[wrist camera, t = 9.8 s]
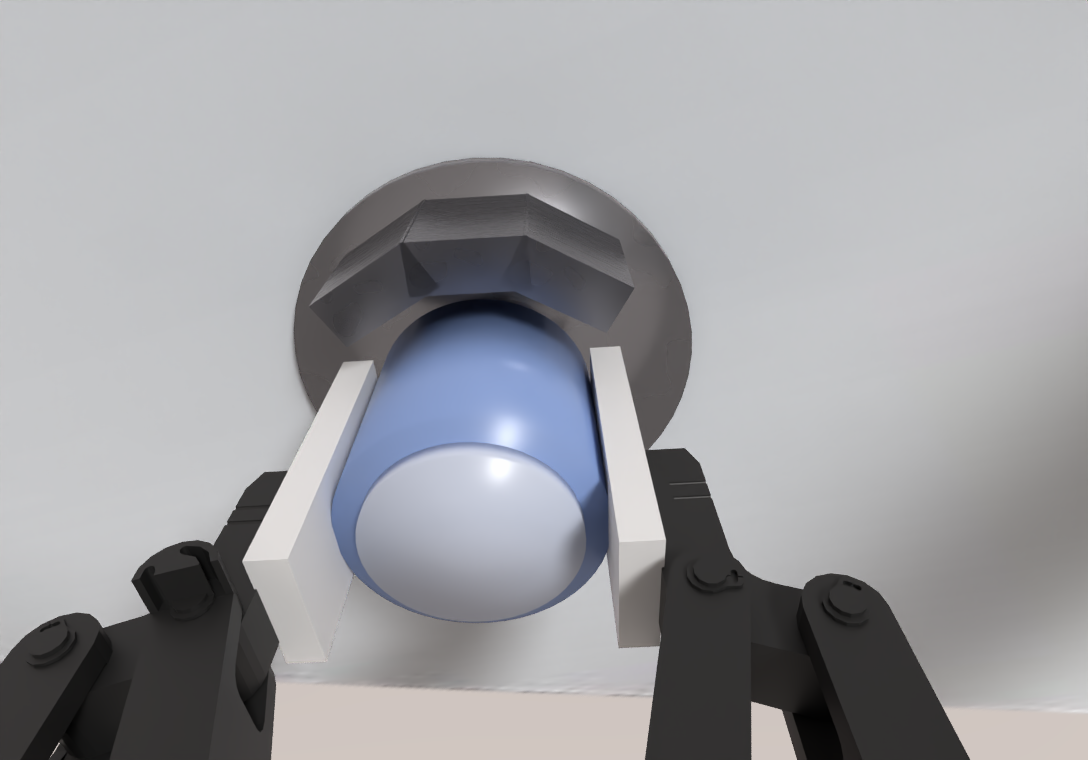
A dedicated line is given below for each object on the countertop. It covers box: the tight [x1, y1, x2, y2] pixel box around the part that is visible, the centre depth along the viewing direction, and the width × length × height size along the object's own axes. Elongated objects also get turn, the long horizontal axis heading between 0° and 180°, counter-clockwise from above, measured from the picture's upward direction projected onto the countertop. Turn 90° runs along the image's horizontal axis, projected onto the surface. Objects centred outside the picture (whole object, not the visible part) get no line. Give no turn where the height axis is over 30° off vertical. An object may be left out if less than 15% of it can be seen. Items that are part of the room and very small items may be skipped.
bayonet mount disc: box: [294, 158, 692, 450], centre depth 17 cm, size 11×11×4 cm
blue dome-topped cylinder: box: [331, 299, 609, 623], centre depth 15 cm, size 6×6×5 cm
